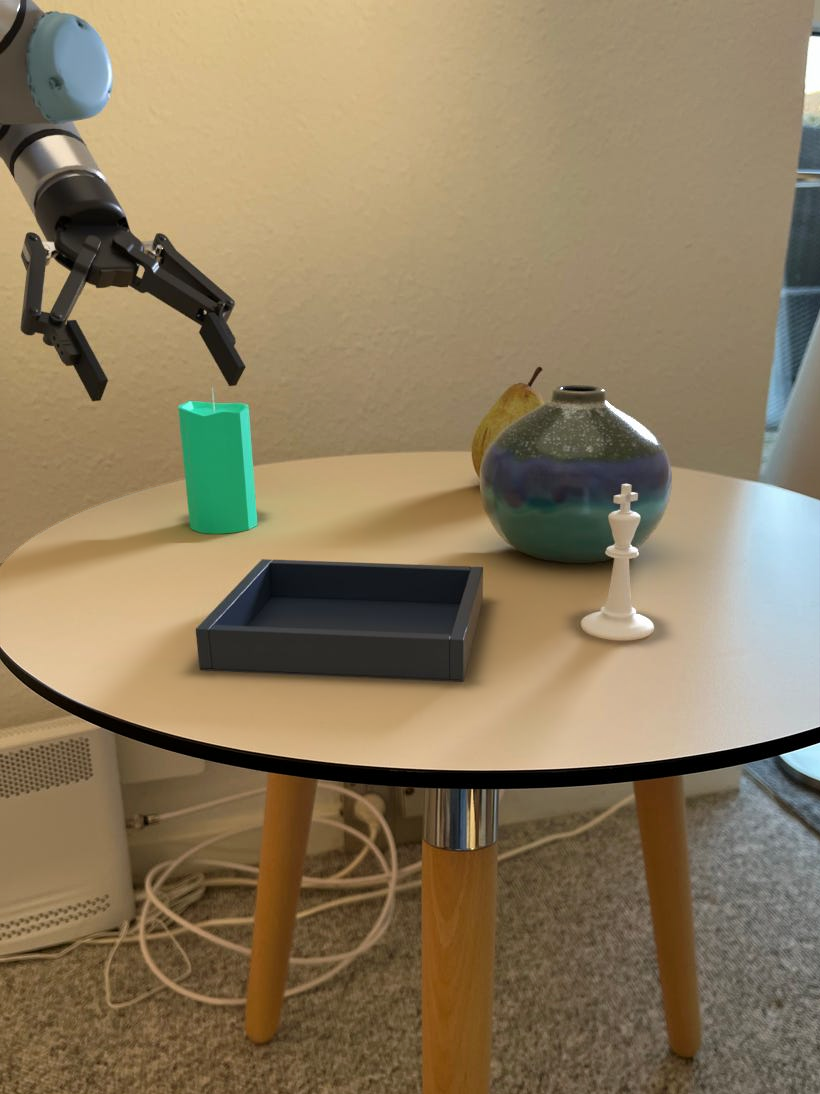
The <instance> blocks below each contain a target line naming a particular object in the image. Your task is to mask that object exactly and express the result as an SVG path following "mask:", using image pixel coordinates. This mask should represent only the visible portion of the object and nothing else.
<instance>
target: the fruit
mask: <svg viewBox="0 0 820 1094" xmlns="http://www.w3.org/2000/svg"><path fill="white" fill-rule="evenodd" d="M542 371H543V367H541V366H537V367H536V369H535V370H534V372H533V374H532V377H531V379H530V380H529V382H528V383H527V384H526V383H523V382H518V383H514V384H512V385H511V386H509V387H508V388H507V389H506V390H505V391H504V392H503V393H502V395H501V396H500V397H499V398H498V399H497V401H496V402H495V403H494V404H493V406H492V407H491V409H489V411H488V412H487V414H485V416H484V417H483V418H482V420H481V421H480V423H479V425H478V426H477V428H476V430H475V432H474V433H475V434H474V436H473V439H472V443H471V461H472V465H473V469H474V471H475V474H476V476H477V478H478V479H479V480H480V467H481V463H482V459H483V456H484V454H485V451H486V449H487V448H488V446H489V444H490V443H491V441H492V440H493V439H494V438H495V436H496V435H497V434H498V433H499V432H500V431H501V430H502V429H503V428H505V427H506V426H507V425H509V424H510V423H512V422H513V421H515V420H516V419H518V418H519V417H521V416H523V415H524V414H526V413H528V412H530V411H531V410H533V409H535V408H537V407H539V406H541V405H543V404H545V403H546V402H545V401H544V399H543V397H542V396H541V394H540V393H539V392H538V391H537V390H536V389H535V388H534V387H532V386H533V384H534V382H535V381H536V380H537V378H538V376H539V375H540V373H541V372H542Z"/></svg>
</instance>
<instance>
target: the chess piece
mask: <svg viewBox="0 0 820 1094" xmlns="http://www.w3.org/2000/svg"><path fill="white" fill-rule="evenodd" d="M631 487H632V485H630V484H622V487H621V494H620V495H615V496H614V502H613V503H617V504H620V510H618V511H614V512H612V513H610V514H609V516H608V518H609V523H610V526H611V529H612V534H613V538H614V541H615V544H614V545H613V546H609V547H607V549H606V551H605V553H606V555H608V556H610V557H613V558H614V559H613V565H612V571H611V578H610V583H609V588H608V591H607V592H608V593H607V598H606V601H605V605H603V606H602V607H601V608H600V611H595V612H591V613H589V614H587V615H586V616H584V617H583V618H582V620H580V627H581V629H582V630H583V632H585V633H587V634H588V635H590V636H592V637H596V638H599V639H602V640H603V639H604V640H610V641H621V642H622V641H623V642H624V641H626V642H627V641H636V640H641V639H645V638H647V637H649V636H650V635H652V634H653V633H654V631H655V624H654V623H653V622H652V620H651V619H650V618H648V617H646V616H644V615H642V614H639V613H637V609H635V608H634V607H633V606H632V594H631V579H630V559H634V558H637V557H638V556H640V553H639V549H638V547H637V548H635V547H632V545H631V544H630V543H631V541H632V539H633V537H634V534H635V531H636V528H637V526H638V525H639V522H640V518H641V517H640V515H639V514H638V513H636V512H633V511H631V510H630V502H631V501H636V500H638V493H635V492H631Z"/></svg>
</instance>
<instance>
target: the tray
mask: <svg viewBox="0 0 820 1094" xmlns="http://www.w3.org/2000/svg"><path fill="white" fill-rule="evenodd" d="M483 603H484V567H483V566H468V565H467V566H466V565H465V566H463V565H442V564H441V565H438V564H436V565H435V564H411V563H410V564H409V563H408V564H407V563H384V562H383V563H382V562H378V563H377V562H355V561H354V562H352V561H351V562H350V561H326V560H296V559H268V558H265V559H264V558H262V559H261V560H260V561H259V562H258V563H257V564H256V565H255V566H254V567H253V568H252V569H251V570H250V571H249V572H248V573H247V574H246V576H244V577H243V578H242V580H241V581H240V582H238V584H237V585H236V586H234V588H233V589H232V590H231V591H230V592H229V593H228V594H227V595H226V596H225V597H224V598H223V599H222V600H221V601H220V603H218V605H217V606H216V607H215V608H214V609H213V610H212V611H211V612H210V613H209V614H208V615H207V616H206V617H205V618H204V619H203V621H201V623H200V624H199V625H198V626H197V627H196V628H195V638H196V647H197V648H196V649H197V657H198V668H199V671H205V672H207V671H208V672H211V671H212V672H226V673H227V672H229V673H230V672H232V673H250V674H251V673H252V674H253V673H254V674H272V675H273V674H277V675H298V676H300V675H301V676H320V677H321V676H322V677H324V676H325V677H342V678H343V677H344V678H347V677H348V678H365V679H388V680H389V679H390V680H411V681H430V682H431V681H432V682H435V681H436V682H455V683H463V682H464V681H465V677H466V673H467V669H468V664H469V660H470V656H471V652H472V648H473V644H474V640H475V636H476V632H477V627H478V624H479V619H480V615H481V611H482V607H483Z"/></svg>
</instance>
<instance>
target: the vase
mask: <svg viewBox="0 0 820 1094" xmlns="http://www.w3.org/2000/svg"><path fill="white" fill-rule="evenodd" d="M544 403H545V404H543V405H541V406H539V407H537V408H535V409H533V410H531V411H530V412H528V413H526V414H524V415H523V416H521V417H519V418H518V419H516V420H515V421H513V422H512V423H510V424H509V425H507V426H506V427H505V428H503V429H502V430H501V431H500V432H499V433H498V434H497V435H496V436H495V438H494V439H493V440H492V441H491V443H490V444H489V446H488V448H487V449H486V451H485V454H484V456H483V459H482V463H481V467H480V479H479V481H478V483H479V493H480V498H481V502H482V506H483V509H484V512H485V514H486V516H487V518H488V521H489V523H490V524H491V526H492V527H493V528H494V530H495V531H496V533H497V534H498V535H499V536H500V537H501V538H502V540H504V541H505V543H507V544H508V545H510V546H511V547H512V548H514V549H516V550H518V552H520V553H523V554H525V555H527V556H529V557H532V558H536V559H538V560H544V561H547V562H554V563H564V564H591V563H600V562H606V561H611V560H614V558H613V557H610V556H608V555H606V553H605V551H606V549H607V547H609V546H613V545H614V544H615V541H614V538H613V534H612V529H611V526H610V523H609V518H608V516H609V514H610V513H612V512H614V511H618V510H620V504H617V503H613V502H614V496H615V495H620V494H621V487H622V484H630V485H632V487H631V492H635V493H638V500H636V501H631V502H630V510H631V511H633V512H636V513H638V514H639V515H640V517H641V518H640V522H639V525H638V526H637V528H636V531H635V534H634V537H633V539H632V541H631V543H630V544H631V545H632V547H635V548H637V549H638V548H639V547H640V546H641V545H643V544H644V543H645V542H646V541H647V540H648V539H650V537H651V536H652V534H653V533H654V532H655V530H656V529H657V528H658V526H659V525H660V523H661V521H662V519H663V517H664V516H665V514H666V511H667V509H668V505H669V502H670V498H671V492H672V489H673V488H672V487H673V486H672V485H673V483H672V481H673V480H672V477H673V476H672V475H673V474H672V467H671V461H670V459H669V455H668V453H667V452H666V449H665V447H664V446H663V444H662V443H661V441H660V440H659V438H658V437H657V436H655V434H654V433H653V432H652V431H651V430H649V429H648V428H647V427H646V426H644V425H643V424H642V423H641V422H640V421H638V420H636V419H635V418H634V417H632V416H631V415H629V414H628V413H626V412H624V411H623V410H621V409H619V408H618V407H616V406H614V405H613V404H611V403H610V402H609V401H608V400H607V398H606V390H605V388H603V387H599V386H595V385H585V384H583V385H582V384H567V385H558V386H555V387H554V388H553V389H552V394H551V397H550V399H549V400H548V401H546V402H544Z"/></svg>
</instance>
